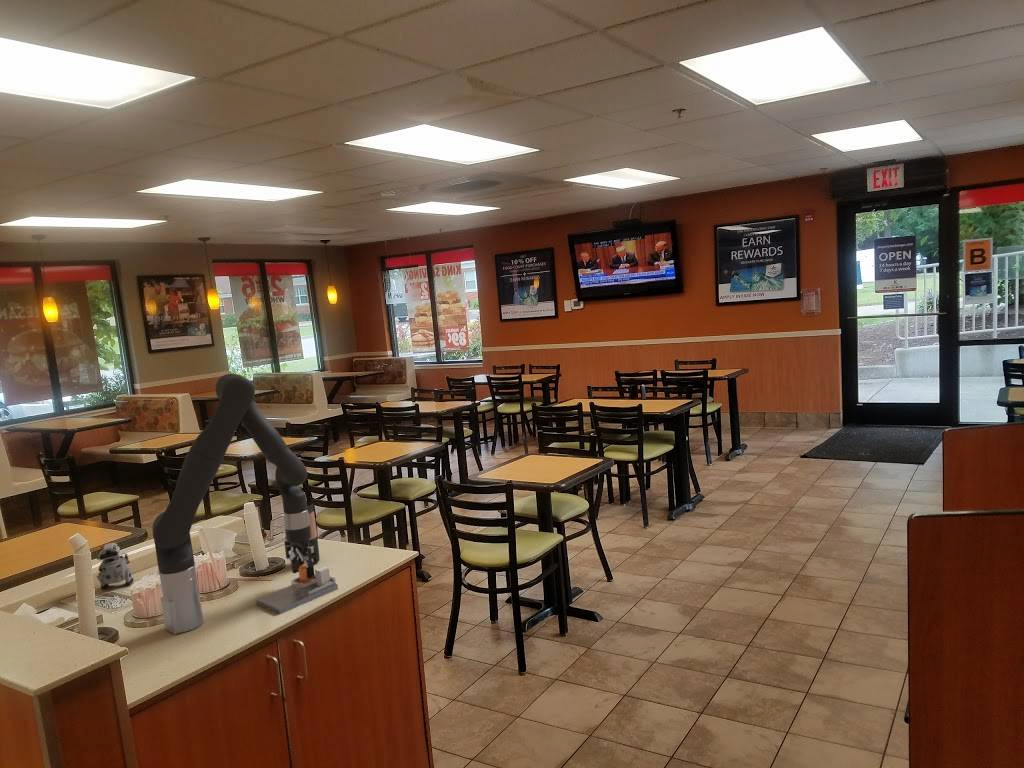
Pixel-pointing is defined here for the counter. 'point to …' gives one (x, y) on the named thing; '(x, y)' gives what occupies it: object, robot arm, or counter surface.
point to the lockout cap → (303, 574)
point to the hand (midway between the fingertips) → (303, 574)
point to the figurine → (113, 566)
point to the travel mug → (312, 532)
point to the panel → (295, 595)
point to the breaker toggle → (322, 576)
